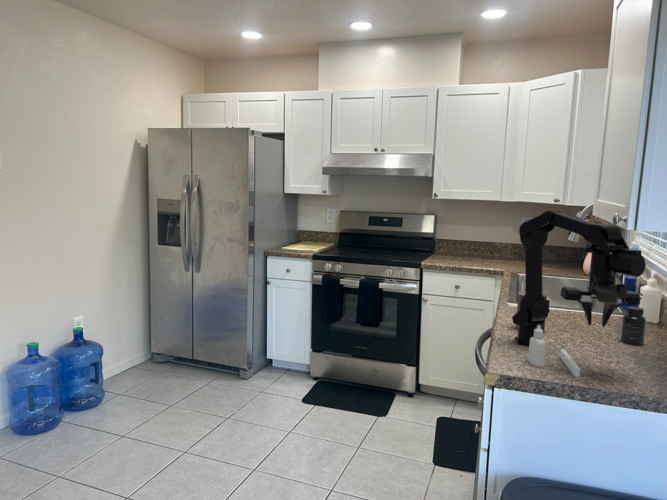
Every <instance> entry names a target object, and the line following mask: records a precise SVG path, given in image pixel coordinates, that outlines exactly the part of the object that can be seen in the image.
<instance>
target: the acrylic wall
mask: <svg viewBox="0 0 667 500" xmlns="http://www.w3.org/2000/svg"><path fill="white" fill-rule="evenodd" d="M559 358H560V359H561V361H562V362H563V363H564V365H565V366H566V368H567V369H568V370H569V371H570V373H571V374H572V375H573V377H576V378H580V374H581V368H580V367H579V365H577V363H576V362H575V361H574V359H573V358H572V356H570V355H569V354H568V352H567V350H566V349H562V348H561V349H560V351H559Z"/></svg>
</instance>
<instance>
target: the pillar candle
mask: <svg viewBox="0 0 667 500" xmlns="http://www.w3.org/2000/svg"><path fill="white" fill-rule="evenodd" d="M525 292H526V290H523V291H519V292H517V303H516V304H517V305H516V313H517V312H518V311H519V310H520V304H521V301H522V299H523V297H524V295H525ZM542 295H543V296H544V298H545V300H548V299H547V298H548V295H547V294H546V293H543V292H542ZM545 324H546V320H545V321H544V324H543V325H540V326H541V330H543V334H544V333H545ZM537 327H538V325H537ZM515 329H516V331H518V325H517V324H515Z"/></svg>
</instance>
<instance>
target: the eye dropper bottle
mask: <svg viewBox="0 0 667 500" xmlns="http://www.w3.org/2000/svg"><path fill="white" fill-rule="evenodd" d="M546 345H547V343H546V340H545V339H544V333H543V330H541V326H540V325H538V327H537V329H534V337H531V338H530V345H528V346H529V348H528V359H527V360H528V362H529V364H531V365H533V366H535V367H541V368H543V367H545V361H546Z"/></svg>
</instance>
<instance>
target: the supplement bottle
mask: <svg viewBox="0 0 667 500" xmlns="http://www.w3.org/2000/svg"><path fill="white" fill-rule="evenodd" d="M643 315H644V308H643V307H639V306H633V305H632V306H631V305H630V306H627V307H626V314H624V315H623V316H622V319H621V320H622V321H621V331H620V332H621V333H620V341H621V342H622V343H624V344H627V345H631V346H642V345H644V344H645V338H646V336H645V335H646V326H647V319H646V317H645V316H643Z"/></svg>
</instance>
